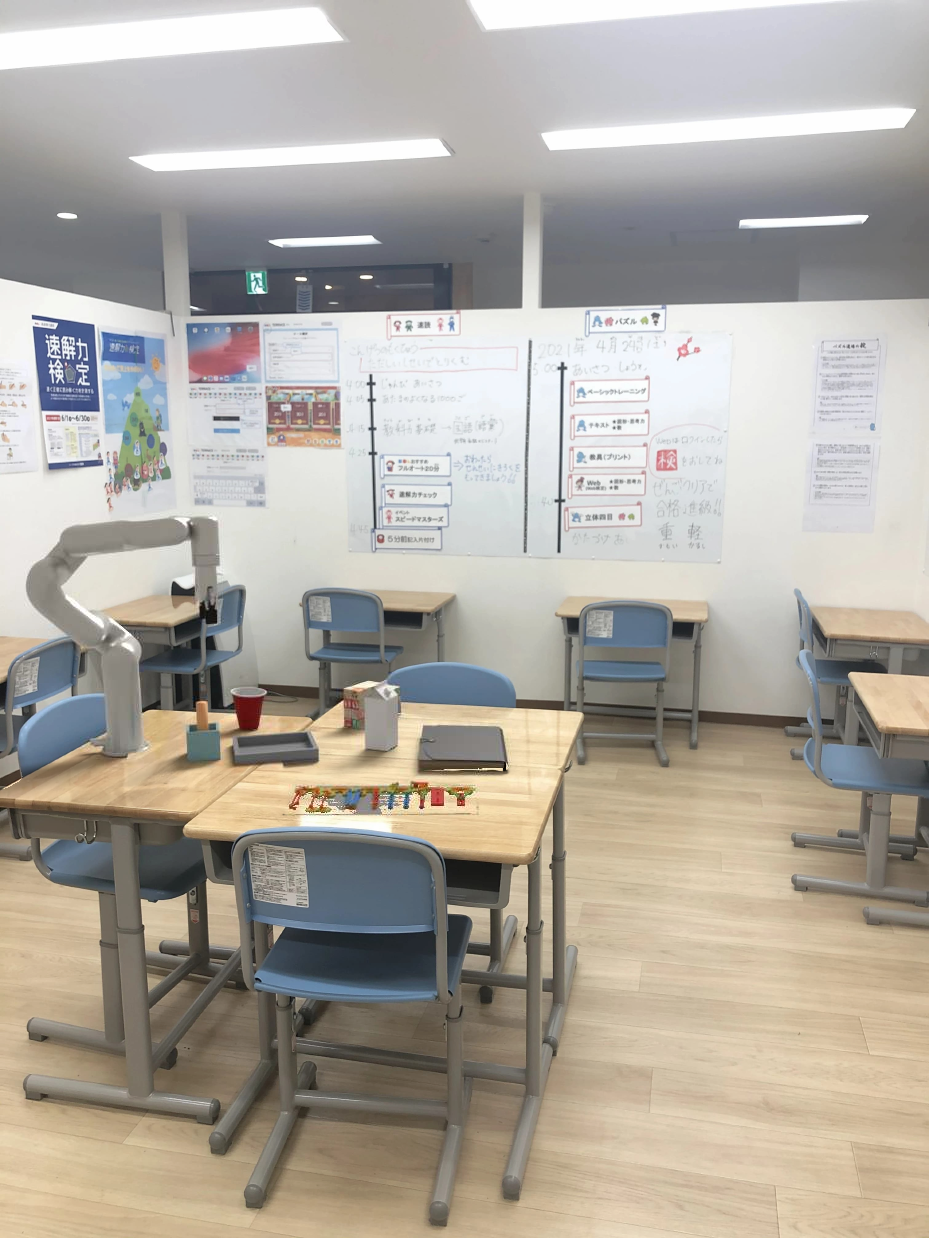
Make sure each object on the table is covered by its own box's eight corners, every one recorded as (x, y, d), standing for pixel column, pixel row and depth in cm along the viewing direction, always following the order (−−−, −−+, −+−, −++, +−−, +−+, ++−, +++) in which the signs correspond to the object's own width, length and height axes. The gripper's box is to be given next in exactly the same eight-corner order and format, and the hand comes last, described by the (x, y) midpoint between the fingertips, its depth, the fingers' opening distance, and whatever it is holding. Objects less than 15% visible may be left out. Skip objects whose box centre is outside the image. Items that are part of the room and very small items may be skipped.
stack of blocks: (386, 711, 303) (385, 675, 301) (401, 714, 300) (401, 677, 298) (343, 726, 285) (343, 687, 283) (359, 729, 282) (358, 690, 280)
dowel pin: (198, 757, 250) (195, 704, 247) (198, 754, 253) (195, 701, 250) (209, 756, 251) (207, 703, 248) (209, 753, 254) (207, 700, 251)
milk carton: (364, 749, 262) (363, 683, 259) (376, 742, 268) (375, 678, 265) (387, 752, 259) (386, 686, 256) (398, 745, 266) (397, 680, 263)
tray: (235, 768, 245) (235, 755, 244) (232, 748, 262) (232, 736, 261) (318, 761, 251) (318, 748, 250) (310, 742, 268) (310, 730, 267)
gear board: (475, 778, 232) (478, 806, 212) (475, 787, 232) (478, 816, 213) (296, 778, 230) (282, 806, 211) (296, 788, 231) (283, 817, 212)
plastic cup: (263, 733, 277) (262, 694, 275) (227, 733, 277) (226, 694, 275) (271, 723, 288) (270, 686, 286) (237, 723, 288) (235, 685, 286)
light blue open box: (187, 765, 247) (186, 733, 245) (187, 755, 255) (186, 724, 253) (220, 762, 249) (219, 730, 248) (219, 753, 257) (218, 722, 256)
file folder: (422, 723, 275) (503, 725, 275) (422, 737, 276) (502, 738, 276) (417, 758, 242) (508, 759, 242) (417, 773, 243) (508, 774, 243)
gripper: (187, 558, 263) (190, 617, 265) (197, 564, 247) (199, 627, 250) (214, 557, 266) (216, 616, 268) (225, 563, 250) (227, 625, 253)
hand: (208, 621), depth 259 cm, fingers open, 9 cm apart
